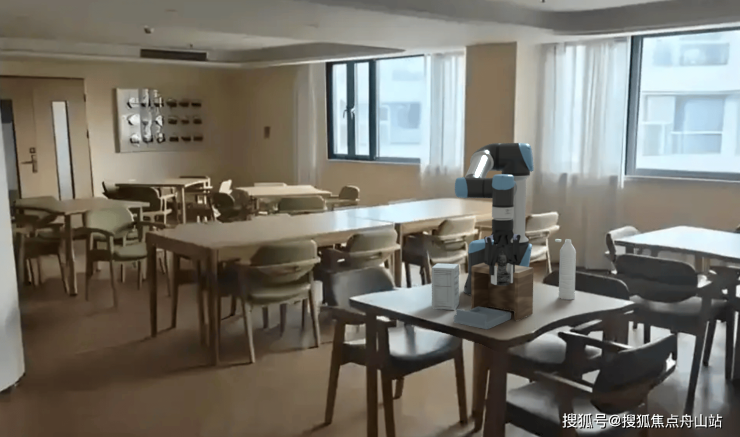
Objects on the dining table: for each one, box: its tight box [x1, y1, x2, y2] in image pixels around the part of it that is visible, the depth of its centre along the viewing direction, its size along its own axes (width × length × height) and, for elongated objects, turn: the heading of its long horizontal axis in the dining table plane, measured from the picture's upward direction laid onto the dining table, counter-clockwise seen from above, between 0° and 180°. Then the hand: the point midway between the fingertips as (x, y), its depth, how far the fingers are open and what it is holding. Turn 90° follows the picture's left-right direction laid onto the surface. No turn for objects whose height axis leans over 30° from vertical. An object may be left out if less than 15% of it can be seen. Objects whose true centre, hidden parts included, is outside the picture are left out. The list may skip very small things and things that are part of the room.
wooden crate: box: [470, 263, 535, 321], centre depth 253 cm, size 20×12×18 cm, turn 49°
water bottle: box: [554, 238, 577, 301], centre depth 274 cm, size 9×6×25 cm
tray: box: [453, 306, 512, 330], centre depth 243 cm, size 14×17×5 cm
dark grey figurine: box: [497, 251, 511, 286], centre depth 233 cm, size 6×6×12 cm
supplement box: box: [431, 262, 460, 311], centre depth 263 cm, size 10×9×17 cm
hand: (501, 282), depth 234 cm, fingers closed on dark grey figurine, 6 cm apart
